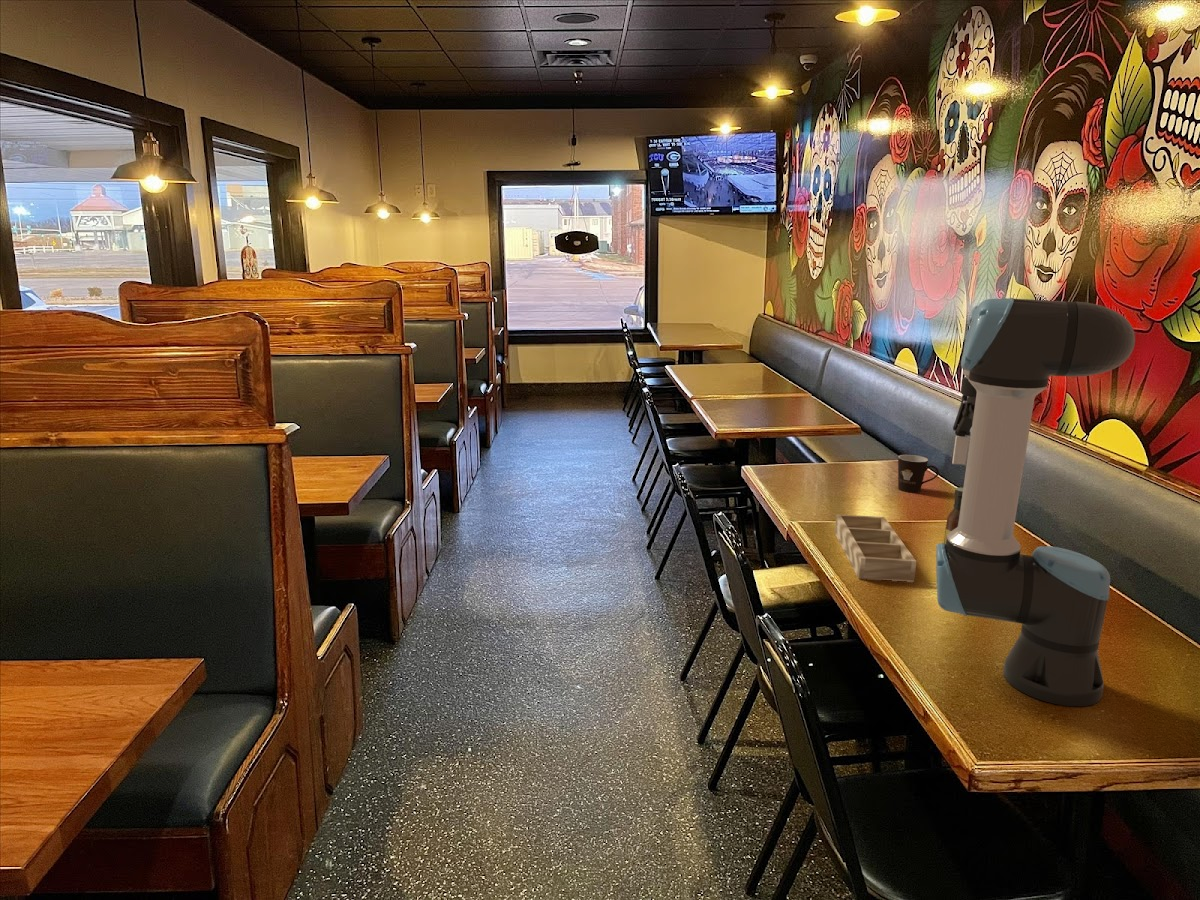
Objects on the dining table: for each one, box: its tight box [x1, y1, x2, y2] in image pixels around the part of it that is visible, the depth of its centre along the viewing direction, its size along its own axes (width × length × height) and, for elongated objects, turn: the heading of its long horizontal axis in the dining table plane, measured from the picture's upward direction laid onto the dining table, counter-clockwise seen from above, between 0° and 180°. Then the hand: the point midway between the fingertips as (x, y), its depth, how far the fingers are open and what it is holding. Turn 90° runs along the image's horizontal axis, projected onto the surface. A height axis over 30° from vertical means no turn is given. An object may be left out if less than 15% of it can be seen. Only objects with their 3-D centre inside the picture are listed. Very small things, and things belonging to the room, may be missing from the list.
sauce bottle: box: [943, 487, 963, 544], centre depth 190 cm, size 6×6×20 cm
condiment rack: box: [834, 514, 917, 583], centre depth 201 cm, size 31×12×5 cm, turn 175°
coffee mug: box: [897, 454, 940, 494], centre depth 256 cm, size 12×9×10 cm
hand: (968, 472), depth 187 cm, fingers open, 13 cm apart
